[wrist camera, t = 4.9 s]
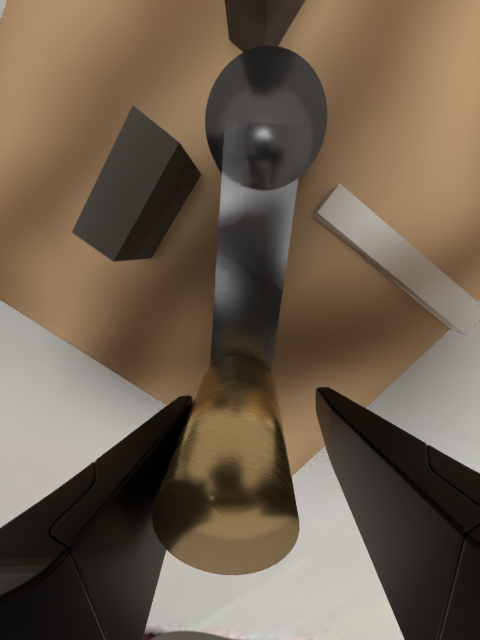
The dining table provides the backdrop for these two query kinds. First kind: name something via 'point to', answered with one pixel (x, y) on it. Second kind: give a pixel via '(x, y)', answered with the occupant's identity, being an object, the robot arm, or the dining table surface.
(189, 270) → the lock plate
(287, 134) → the two-tone long knobbed bar
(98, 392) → the dining table surface
